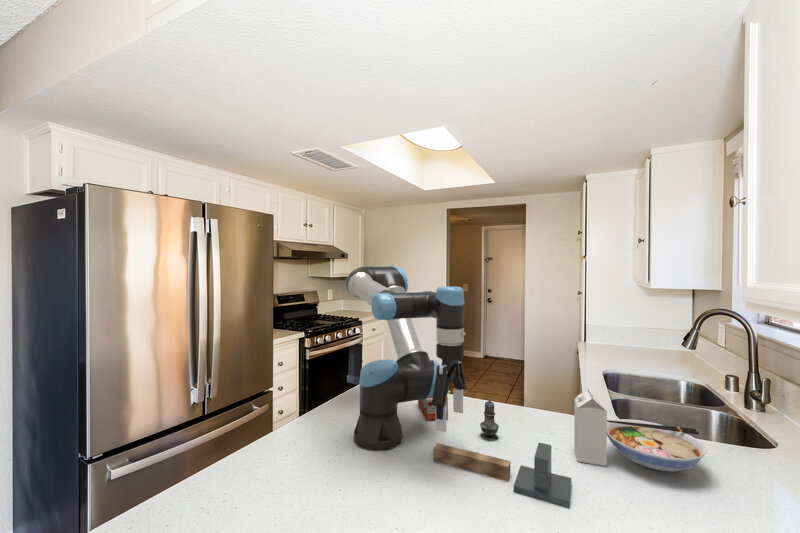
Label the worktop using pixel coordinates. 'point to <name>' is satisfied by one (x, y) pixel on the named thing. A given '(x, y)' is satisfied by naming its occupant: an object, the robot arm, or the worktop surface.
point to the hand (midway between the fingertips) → (450, 421)
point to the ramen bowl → (656, 444)
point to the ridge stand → (543, 480)
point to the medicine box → (430, 409)
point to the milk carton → (590, 429)
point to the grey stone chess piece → (489, 423)
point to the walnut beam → (472, 461)
